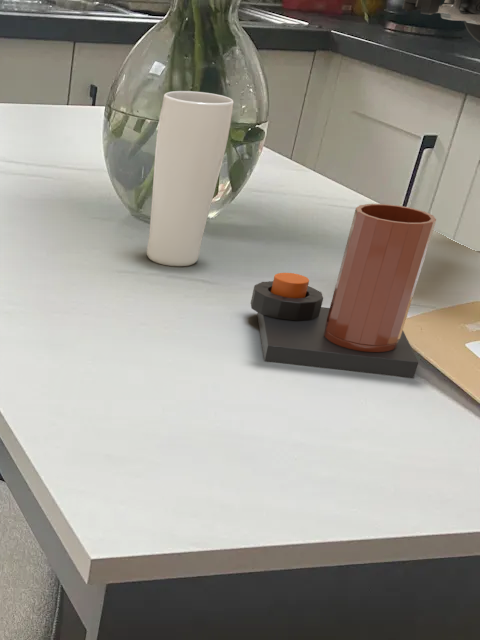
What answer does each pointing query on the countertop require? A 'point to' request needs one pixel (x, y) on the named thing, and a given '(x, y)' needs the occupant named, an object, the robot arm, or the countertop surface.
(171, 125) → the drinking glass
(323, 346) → the scale
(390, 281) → the cup
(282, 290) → the button
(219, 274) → the countertop surface
